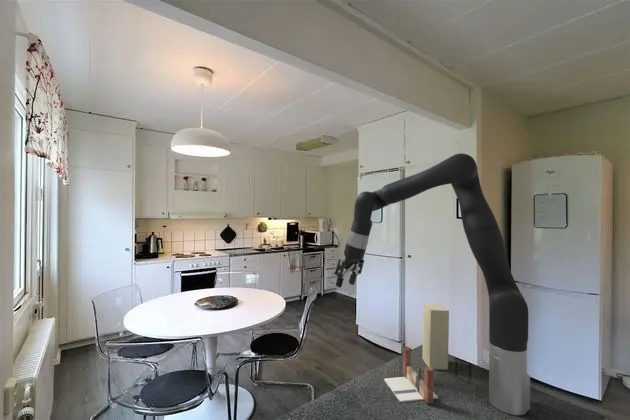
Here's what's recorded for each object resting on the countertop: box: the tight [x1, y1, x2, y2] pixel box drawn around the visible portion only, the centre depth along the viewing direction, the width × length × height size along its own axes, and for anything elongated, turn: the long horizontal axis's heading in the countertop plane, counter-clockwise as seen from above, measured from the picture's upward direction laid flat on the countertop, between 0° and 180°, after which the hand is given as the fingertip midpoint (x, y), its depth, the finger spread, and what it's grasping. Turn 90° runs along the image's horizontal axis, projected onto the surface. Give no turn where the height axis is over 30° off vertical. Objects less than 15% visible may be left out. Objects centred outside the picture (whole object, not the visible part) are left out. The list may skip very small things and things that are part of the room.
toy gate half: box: [402, 346, 417, 387], centre depth 98 cm, size 8×2×9 cm, turn 10°
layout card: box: [383, 376, 439, 403], centre depth 94 cm, size 12×12×1 cm
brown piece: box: [416, 366, 434, 405], centre depth 90 cm, size 2×7×10 cm, turn 10°
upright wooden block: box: [421, 303, 450, 371], centre depth 110 cm, size 8×7×21 cm
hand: (344, 285), depth 113 cm, fingers open, 8 cm apart
